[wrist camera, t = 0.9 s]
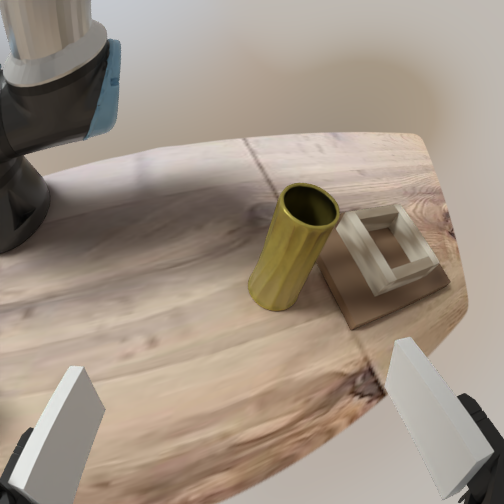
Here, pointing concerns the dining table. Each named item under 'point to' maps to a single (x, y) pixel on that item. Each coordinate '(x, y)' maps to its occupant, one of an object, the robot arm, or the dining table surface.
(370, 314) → the stand
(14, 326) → the dining table surface
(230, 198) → the dining table surface
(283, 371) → the dining table surface
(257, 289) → the vase
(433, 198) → the dining table surface
